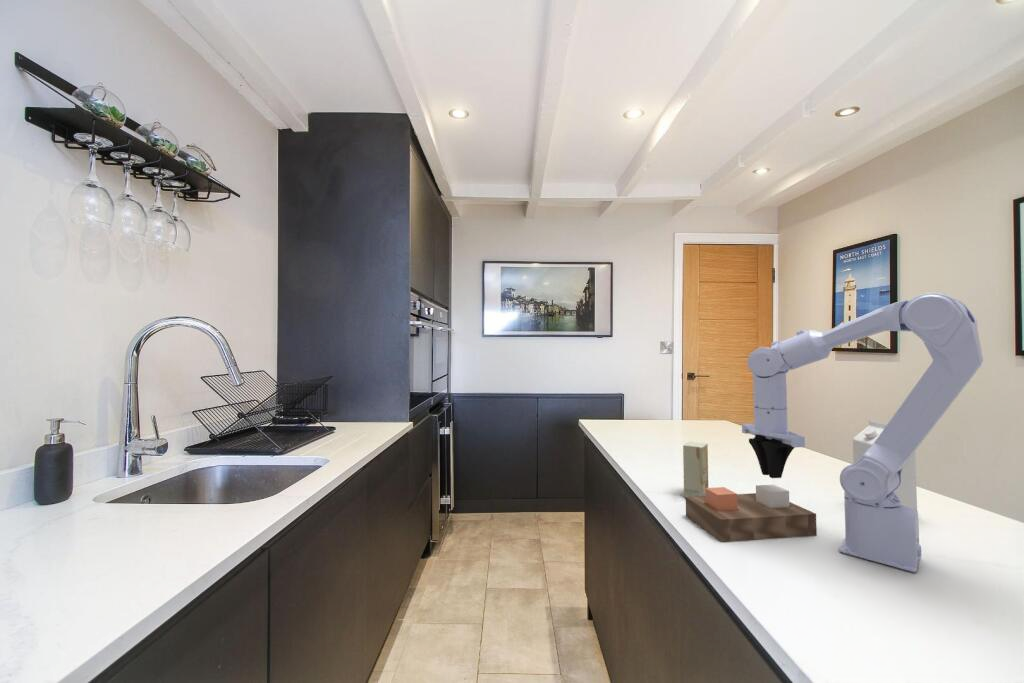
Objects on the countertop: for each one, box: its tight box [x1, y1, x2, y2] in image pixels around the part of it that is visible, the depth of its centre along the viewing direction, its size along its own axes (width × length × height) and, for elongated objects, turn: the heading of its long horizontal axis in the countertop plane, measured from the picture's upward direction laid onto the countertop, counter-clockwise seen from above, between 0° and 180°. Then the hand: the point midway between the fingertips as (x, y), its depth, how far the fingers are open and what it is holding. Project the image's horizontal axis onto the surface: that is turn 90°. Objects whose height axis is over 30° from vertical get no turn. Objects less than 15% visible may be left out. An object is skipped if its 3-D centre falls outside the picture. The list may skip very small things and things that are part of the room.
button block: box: [685, 492, 818, 543], centre depth 82 cm, size 19×12×4 cm, turn 97°
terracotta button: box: [705, 486, 738, 511], centre depth 82 cm, size 4×4×4 cm
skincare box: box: [682, 441, 709, 498], centre depth 100 cm, size 6×4×12 cm
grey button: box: [755, 484, 790, 508], centre depth 83 cm, size 4×4×4 cm
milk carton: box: [852, 420, 918, 510], centre depth 88 cm, size 7×7×19 cm
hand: (771, 476), depth 83 cm, fingers closed
